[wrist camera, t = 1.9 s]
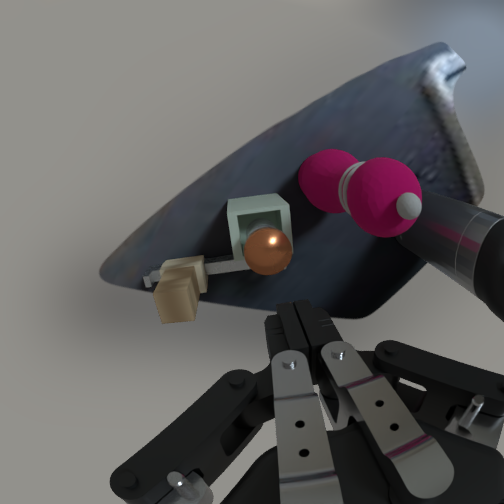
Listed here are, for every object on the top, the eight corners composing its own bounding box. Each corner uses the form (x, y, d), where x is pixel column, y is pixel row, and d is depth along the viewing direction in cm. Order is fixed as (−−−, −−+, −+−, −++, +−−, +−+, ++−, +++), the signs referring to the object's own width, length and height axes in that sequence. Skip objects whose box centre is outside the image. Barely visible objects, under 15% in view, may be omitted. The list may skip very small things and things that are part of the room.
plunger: (278, 211, 27) (290, 226, 21) (281, 248, 28) (293, 271, 23) (239, 216, 27) (241, 233, 21) (244, 253, 28) (247, 278, 23)
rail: (280, 247, 37) (285, 257, 33) (281, 258, 37) (286, 268, 34) (150, 266, 36) (142, 276, 33) (152, 276, 37) (146, 287, 33)
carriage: (203, 253, 35) (194, 288, 26) (208, 279, 36) (202, 320, 27) (165, 259, 35) (145, 294, 26) (171, 284, 36) (155, 324, 27)
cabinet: (276, 193, 34) (289, 204, 27) (280, 231, 36) (293, 253, 28) (226, 199, 34) (224, 212, 26) (232, 238, 36) (232, 261, 28)
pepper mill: (283, 167, 33) (347, 185, 14) (330, 139, 32) (433, 132, 13) (311, 215, 35) (391, 283, 17) (356, 187, 34) (463, 227, 16)
